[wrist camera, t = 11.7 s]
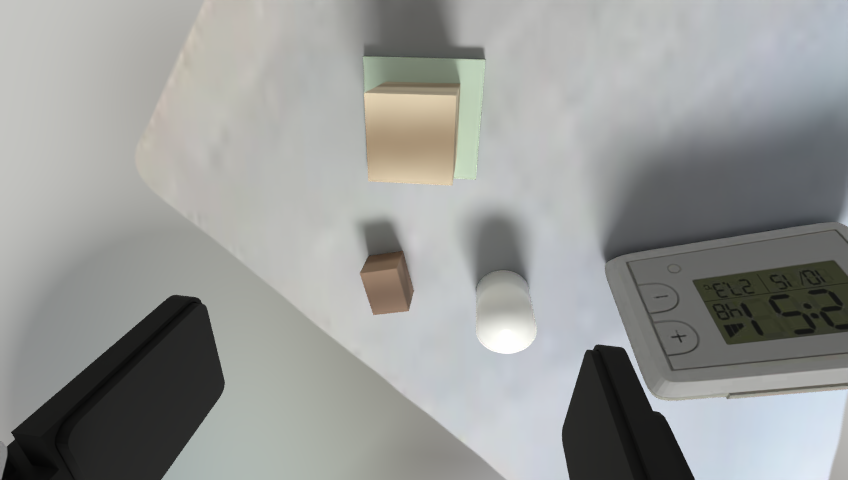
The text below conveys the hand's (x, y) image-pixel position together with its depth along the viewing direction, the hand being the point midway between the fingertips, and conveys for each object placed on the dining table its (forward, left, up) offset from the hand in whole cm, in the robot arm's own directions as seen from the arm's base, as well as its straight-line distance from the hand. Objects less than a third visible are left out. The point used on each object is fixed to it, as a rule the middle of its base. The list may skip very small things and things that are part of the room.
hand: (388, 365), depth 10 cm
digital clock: (+8, +21, -22) cm, 32 cm away
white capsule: (+12, +5, -22) cm, 26 cm away
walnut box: (+11, -4, -22) cm, 25 cm away
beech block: (-2, -2, -21) cm, 22 cm away
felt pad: (-2, -2, -22) cm, 22 cm away
